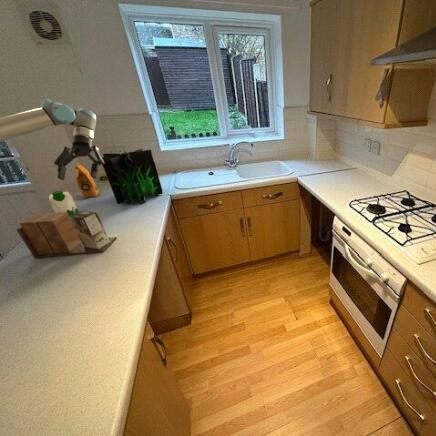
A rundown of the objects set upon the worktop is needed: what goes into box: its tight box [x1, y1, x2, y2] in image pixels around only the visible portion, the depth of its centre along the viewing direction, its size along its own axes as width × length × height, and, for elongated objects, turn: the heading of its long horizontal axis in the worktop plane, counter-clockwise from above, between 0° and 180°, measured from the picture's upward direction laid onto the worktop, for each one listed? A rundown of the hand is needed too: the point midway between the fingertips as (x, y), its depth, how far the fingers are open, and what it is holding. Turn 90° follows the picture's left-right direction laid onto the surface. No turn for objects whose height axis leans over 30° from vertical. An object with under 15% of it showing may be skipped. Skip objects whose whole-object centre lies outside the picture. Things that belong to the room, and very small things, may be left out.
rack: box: [16, 211, 117, 260], centre depth 108 cm, size 28×12×17 cm, turn 99°
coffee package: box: [74, 163, 100, 199], centre depth 167 cm, size 10×12×22 cm
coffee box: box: [69, 210, 110, 249], centre depth 109 cm, size 9×6×16 cm
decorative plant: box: [101, 148, 164, 206], centre depth 162 cm, size 29×30×30 cm
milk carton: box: [48, 190, 80, 216], centre depth 128 cm, size 9×9×20 cm
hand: (77, 178), depth 111 cm, fingers open, 13 cm apart
